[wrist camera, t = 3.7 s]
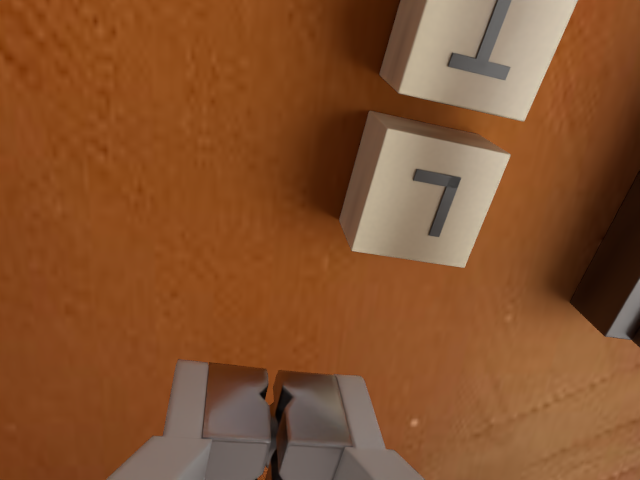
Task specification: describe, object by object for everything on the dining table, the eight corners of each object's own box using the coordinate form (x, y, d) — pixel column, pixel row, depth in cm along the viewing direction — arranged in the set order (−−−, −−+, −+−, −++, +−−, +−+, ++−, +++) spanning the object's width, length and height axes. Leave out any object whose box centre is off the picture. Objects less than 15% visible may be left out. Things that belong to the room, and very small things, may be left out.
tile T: (544, -33, 20) (593, -30, 17) (491, 101, 23) (525, 122, 20) (420, -71, 19) (450, -75, 16) (378, 75, 21) (398, 93, 18)
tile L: (478, 134, 23) (512, 155, 20) (440, 237, 25) (465, 269, 23) (369, 110, 22) (387, 128, 19) (338, 220, 24) (351, 251, 21)
